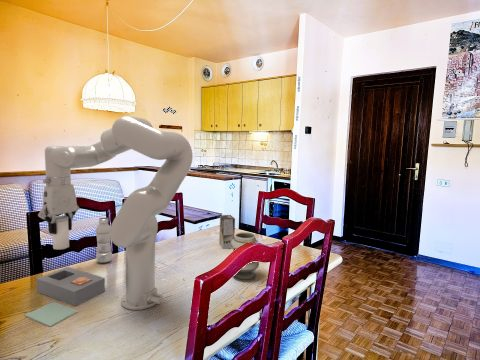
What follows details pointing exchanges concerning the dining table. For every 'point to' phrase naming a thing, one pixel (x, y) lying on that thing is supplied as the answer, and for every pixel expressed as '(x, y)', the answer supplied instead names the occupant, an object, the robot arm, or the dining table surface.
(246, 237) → the apothecary jar
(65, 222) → the cylinder
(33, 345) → the dining table surface
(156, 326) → the dining table surface
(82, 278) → the square push button
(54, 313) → the mat
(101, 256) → the plastic bottle
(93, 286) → the housing
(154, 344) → the dining table surface
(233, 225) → the coffee box
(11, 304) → the dining table surface
